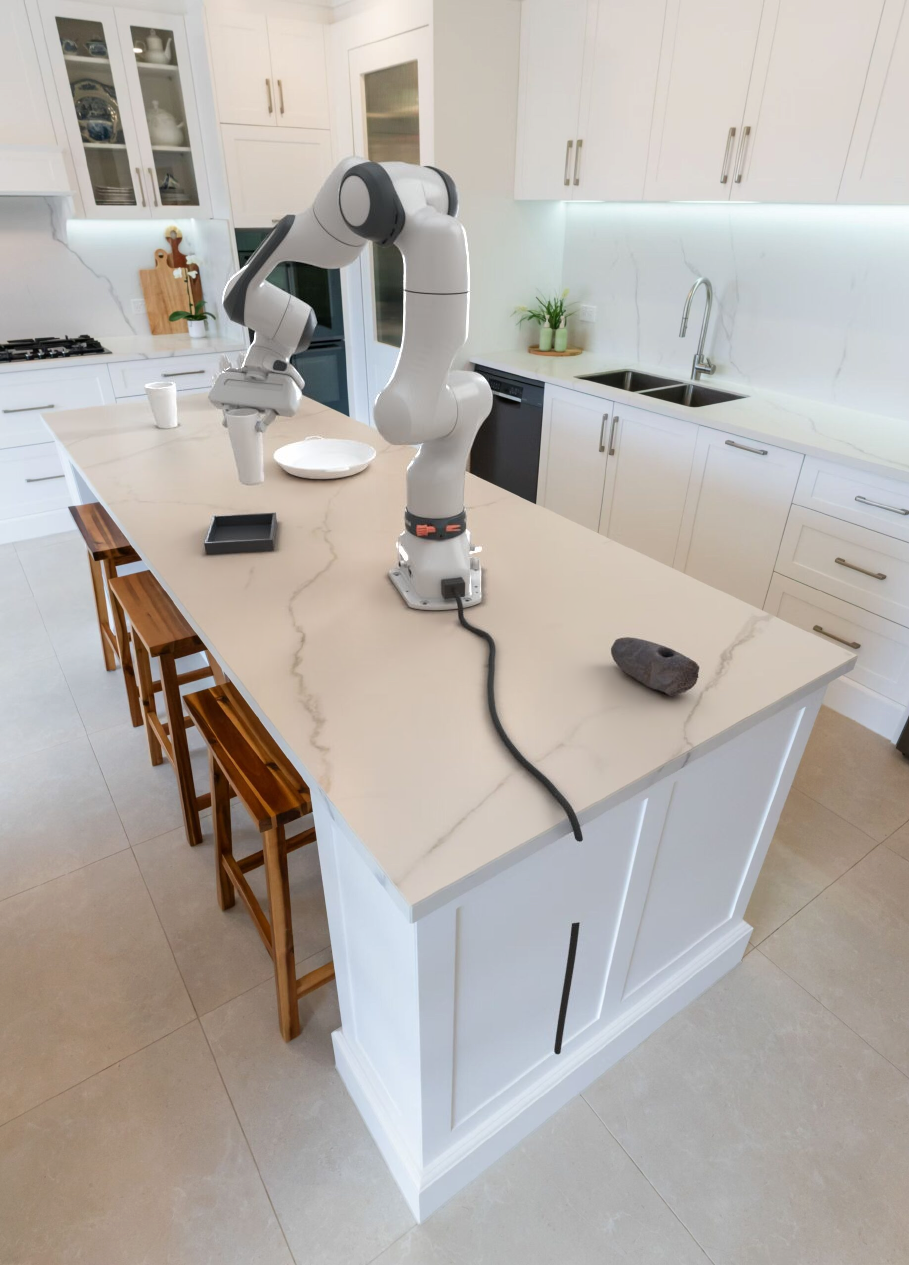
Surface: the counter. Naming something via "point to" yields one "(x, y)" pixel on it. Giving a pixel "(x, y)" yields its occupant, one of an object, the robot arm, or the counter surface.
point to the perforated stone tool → (655, 665)
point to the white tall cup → (246, 444)
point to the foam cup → (163, 403)
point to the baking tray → (241, 533)
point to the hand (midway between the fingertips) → (243, 428)
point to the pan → (324, 458)
